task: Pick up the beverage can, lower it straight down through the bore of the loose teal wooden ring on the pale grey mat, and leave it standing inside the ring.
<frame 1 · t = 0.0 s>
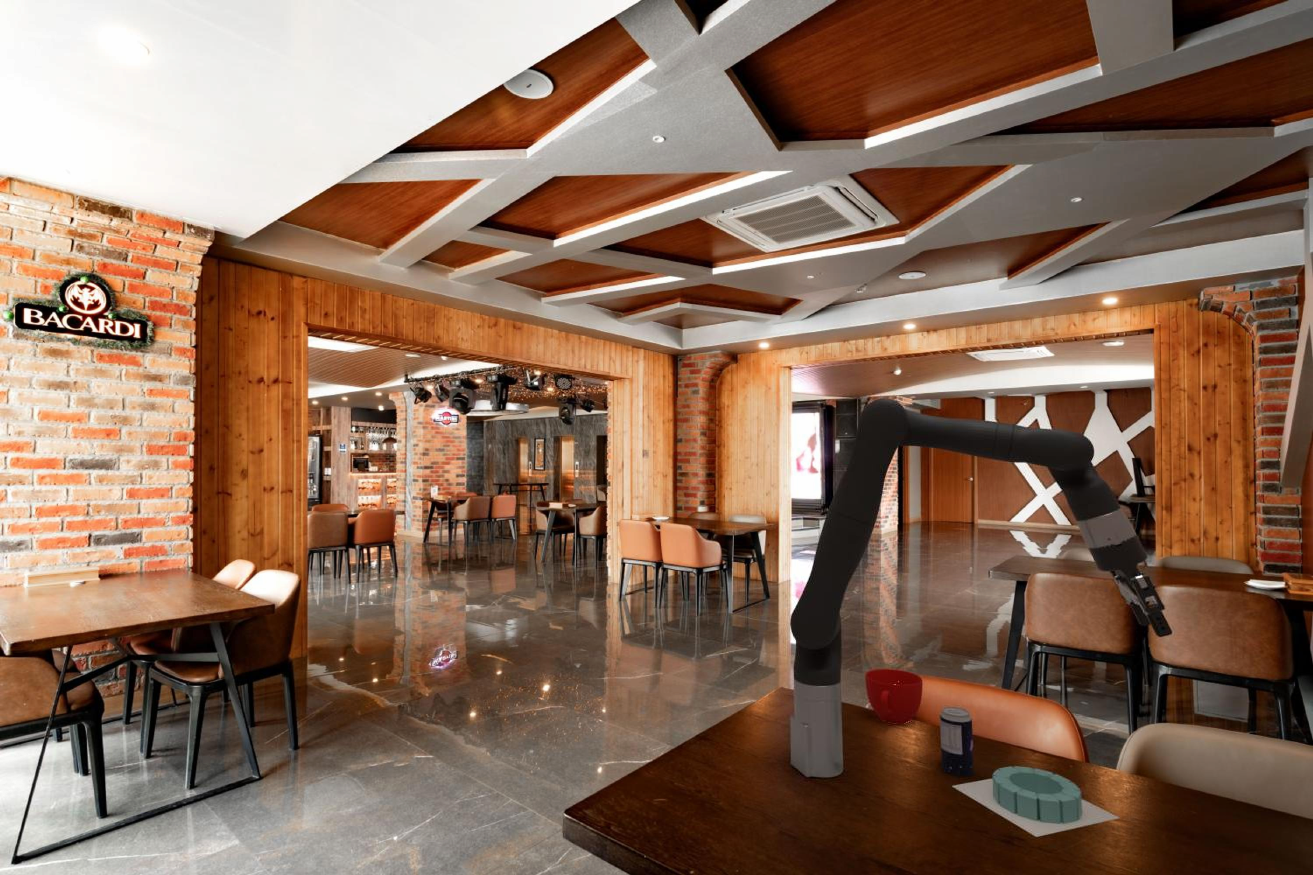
hand: (1156, 629, 110), 31 cm above the table, tool tilted 20°, fingers open, 8 cm apart
ceramic cup: (892, 722, 153), on the table
beverage can: (957, 775, 126), on the table
mat: (1031, 805, 113), on the table
ring: (1036, 803, 112), point 1 cm above the table, touching mat
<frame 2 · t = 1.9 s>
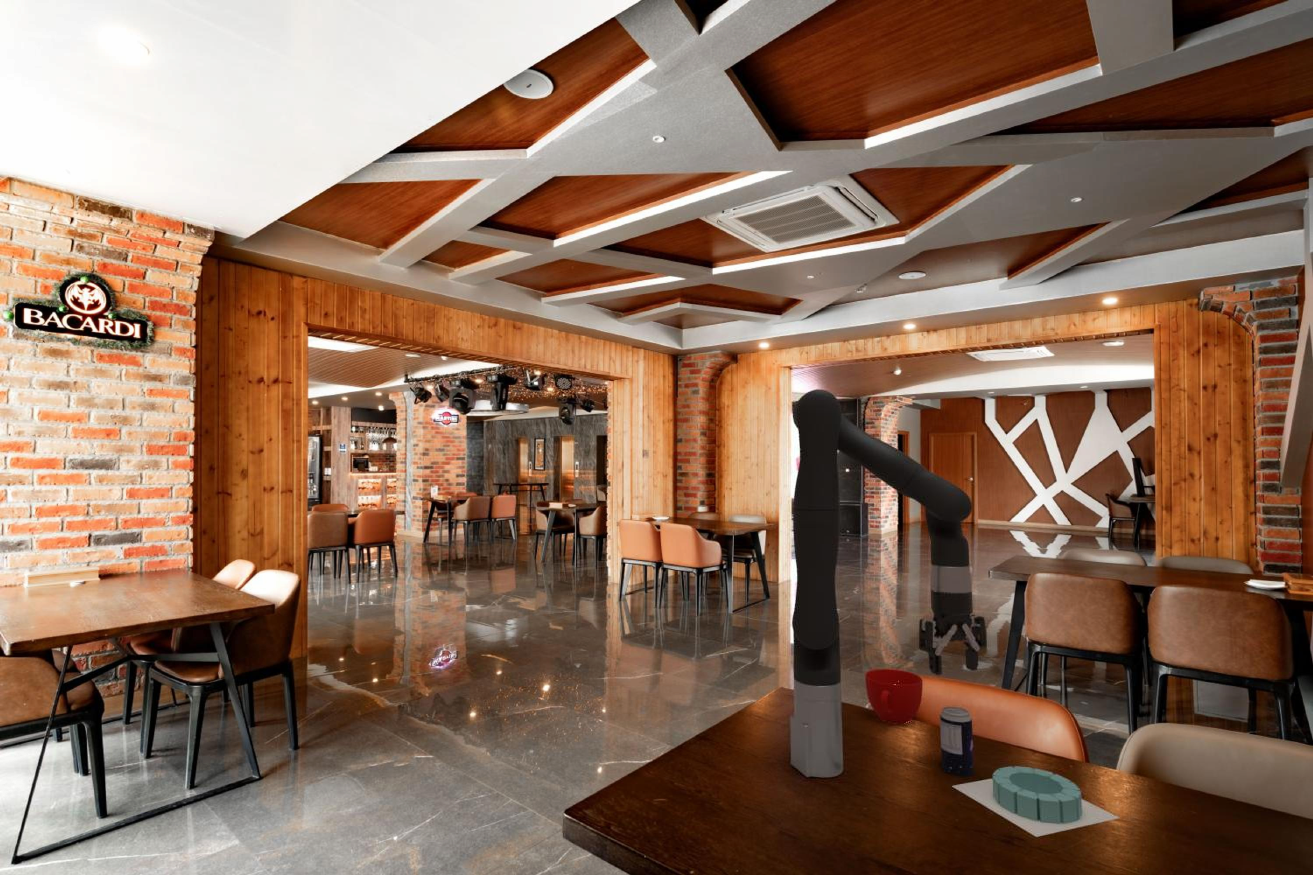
hand: (954, 671, 127), 19 cm above the table, tool pointing down, fingers open, 8 cm apart
nothing on the table moved.
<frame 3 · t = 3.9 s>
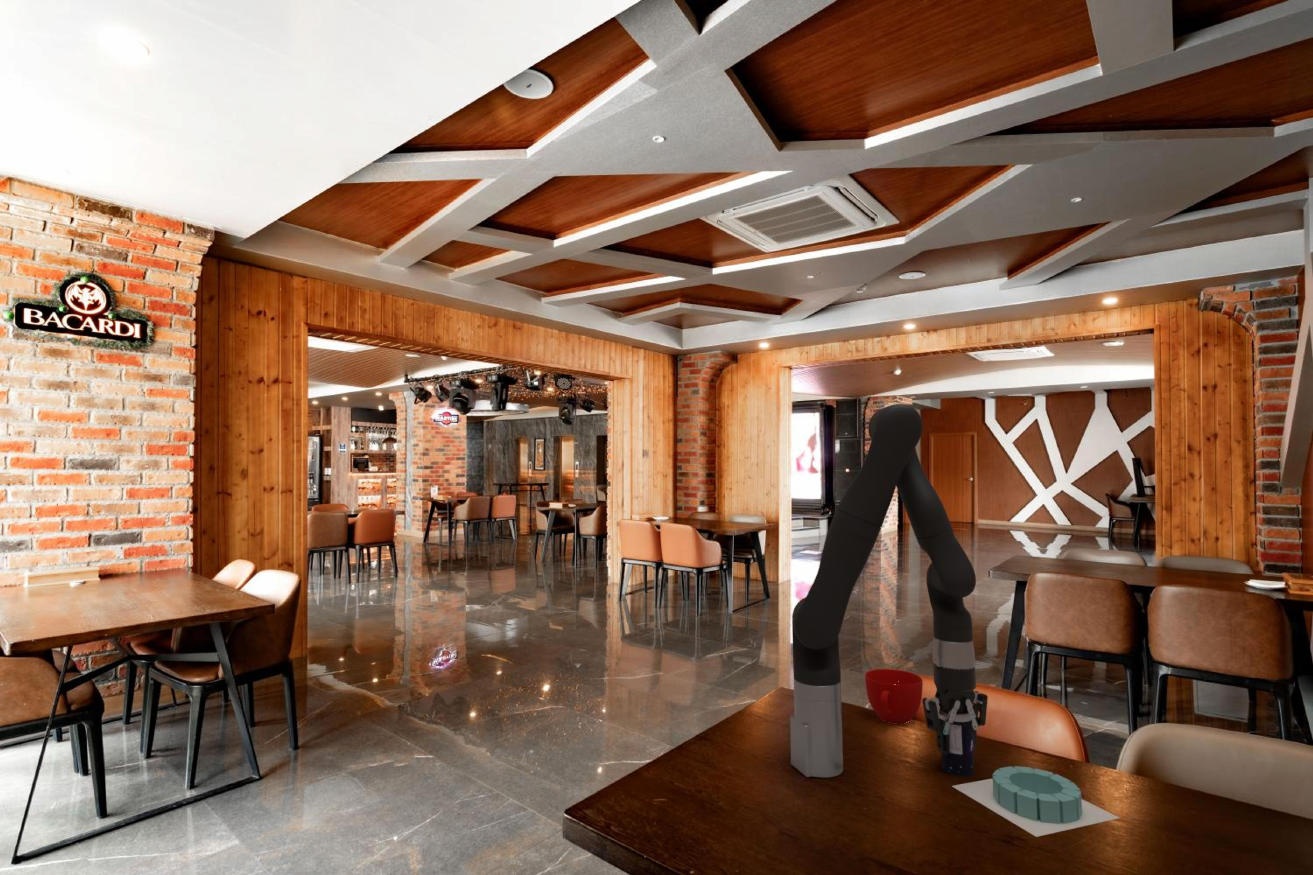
hand: (957, 749, 126), 5 cm above the table, tool pointing down, fingers closed on beverage can, 5 cm apart
beverage can: (958, 775, 126), on the table, touching gripper
everything else where it was.
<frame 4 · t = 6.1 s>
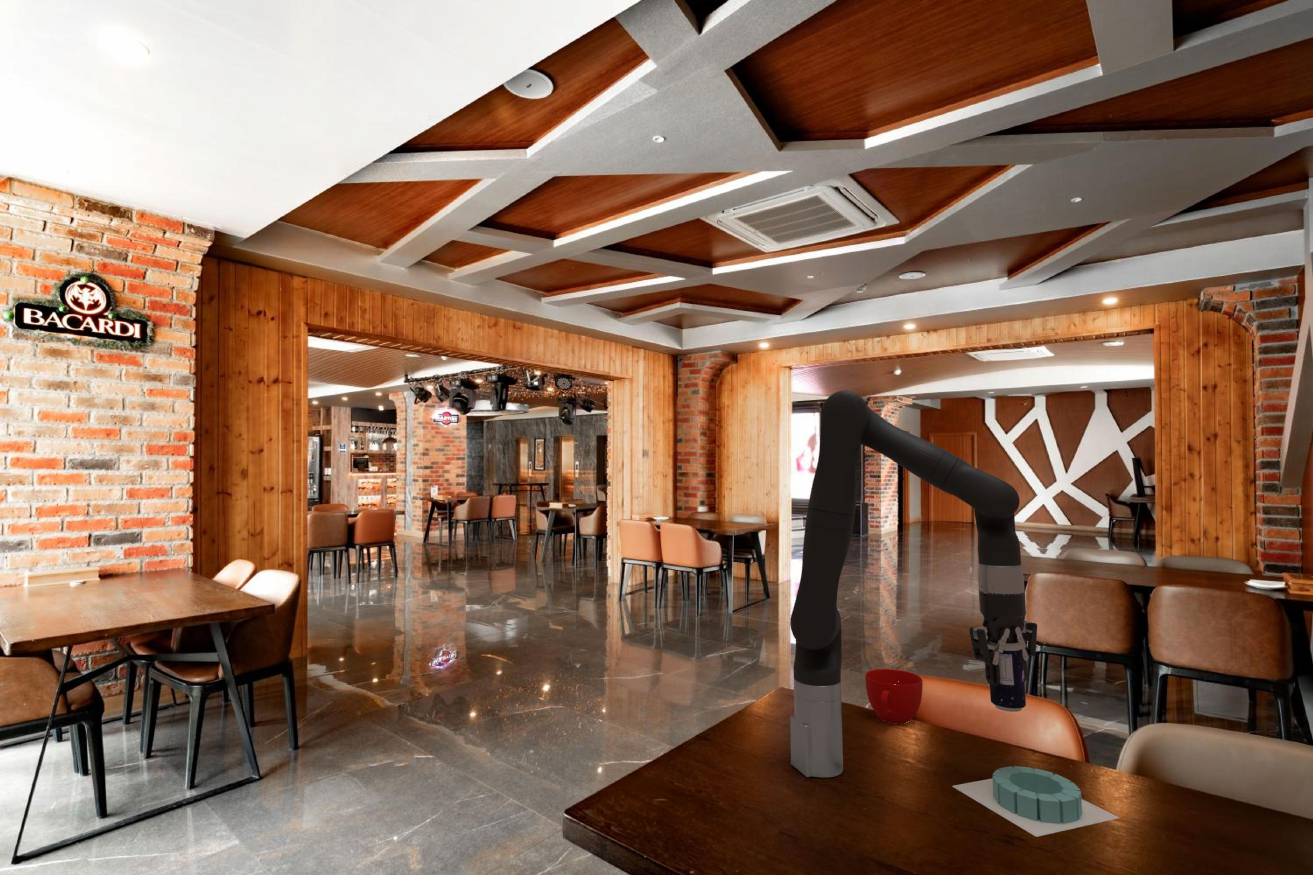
hand: (1006, 682, 118), 20 cm above the table, tool pointing down, fingers closed on beverage can, 5 cm apart
beverage can: (1008, 708, 118), point 15 cm above the table, touching gripper
everything else where it was.
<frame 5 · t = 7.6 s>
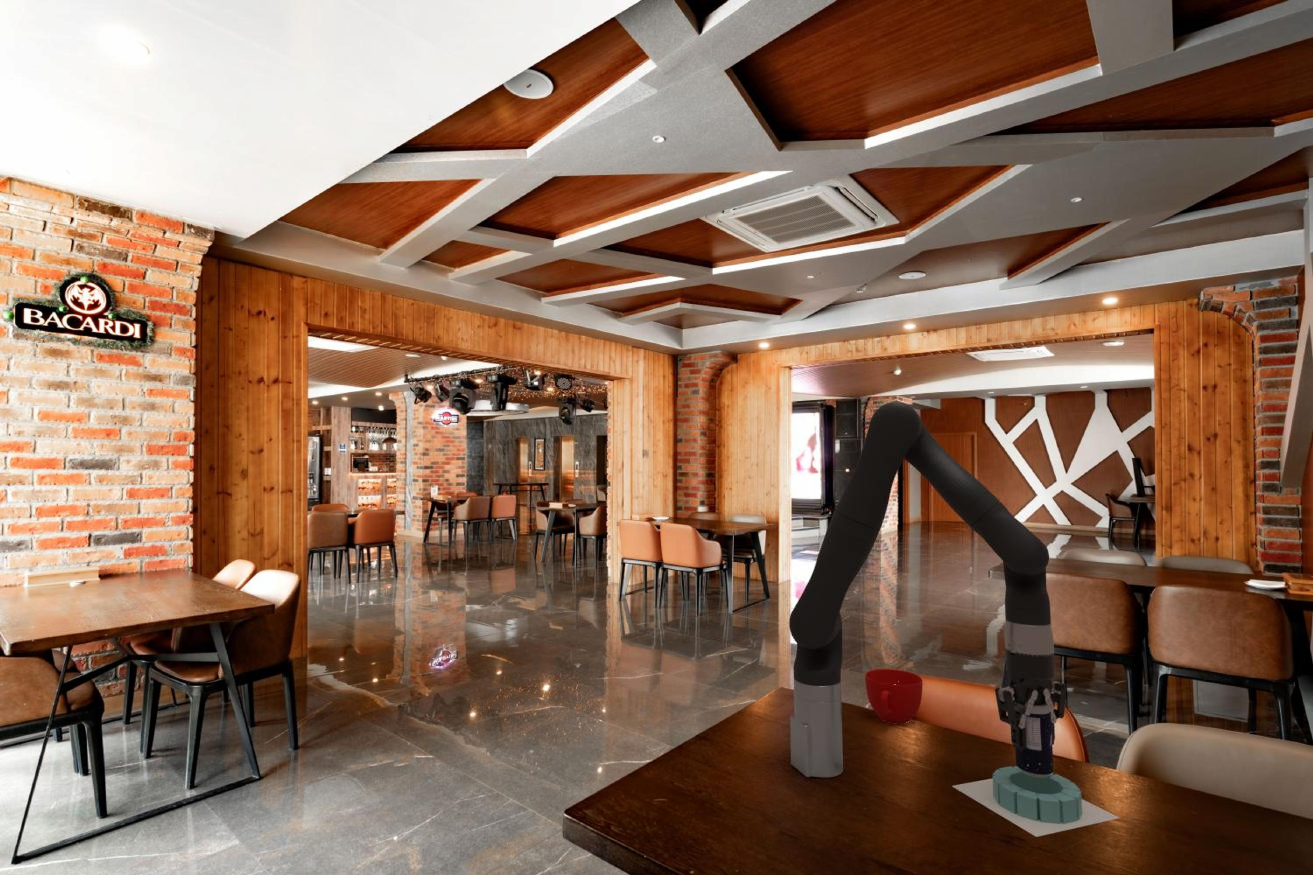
hand: (1033, 745, 113), 11 cm above the table, tool pointing down, fingers closed on beverage can, 5 cm apart
beverage can: (1034, 773, 113), point 6 cm above the table, touching gripper
everything else where it was.
when the fingers open (7 cm above the table, at t = 8.8 s): beverage can drops 2 cm, resting on mat.
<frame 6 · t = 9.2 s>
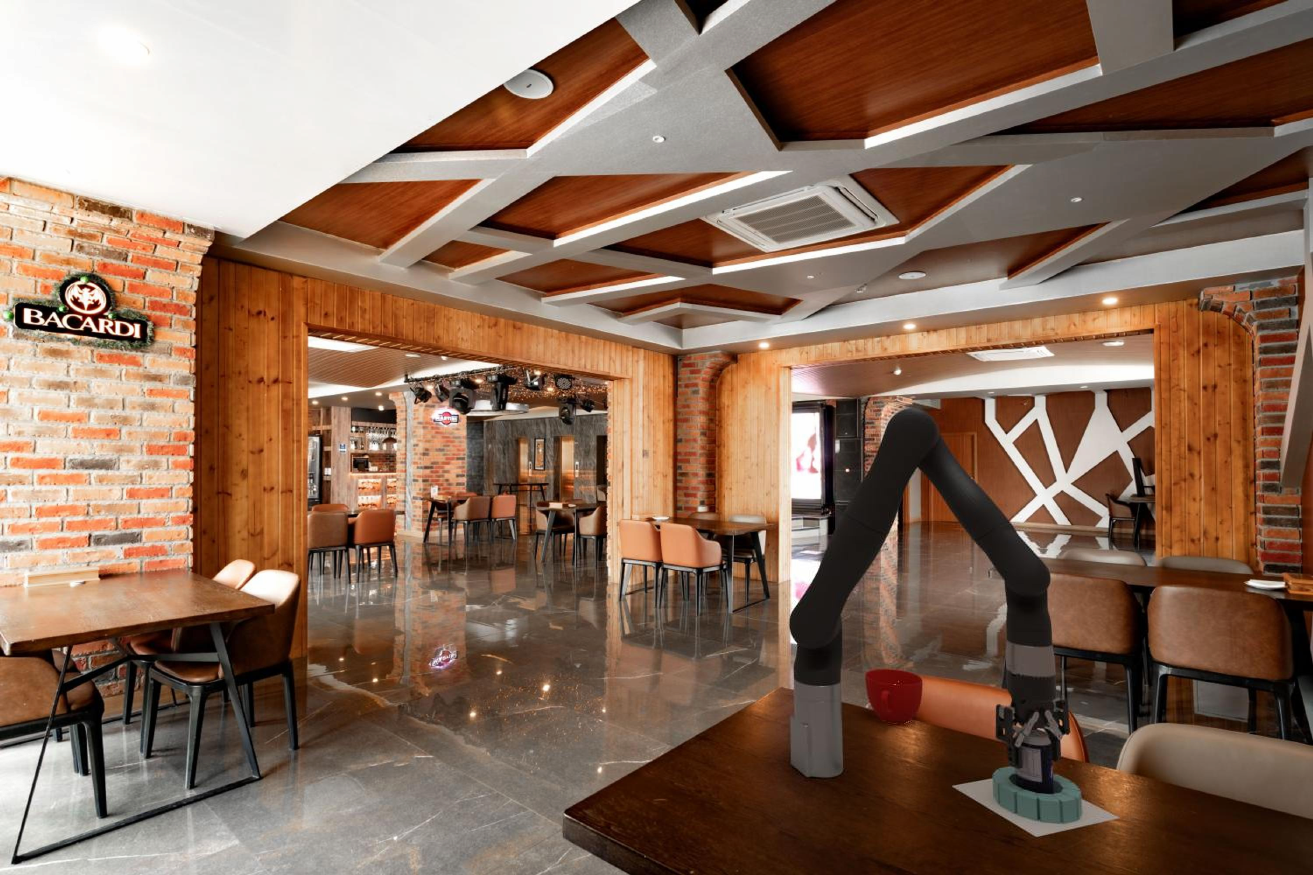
hand: (1034, 763, 113), 8 cm above the table, tool pointing down, fingers open, 8 cm apart
beverage can: (1035, 804, 112), point 1 cm above the table, touching mat
everything else where it was.
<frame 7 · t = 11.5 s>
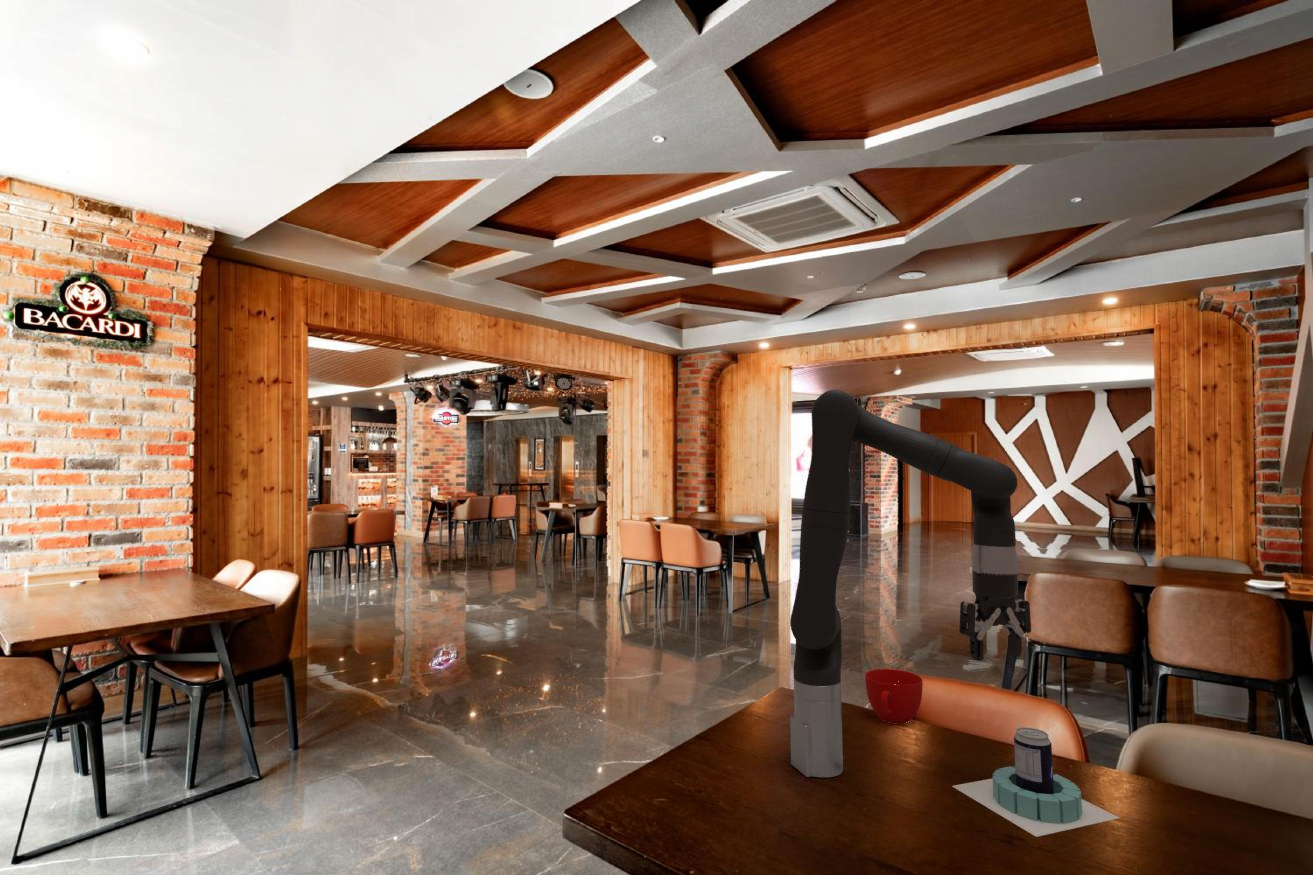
hand: (996, 657, 120), 24 cm above the table, tool pointing down, fingers open, 8 cm apart
nothing on the table moved.
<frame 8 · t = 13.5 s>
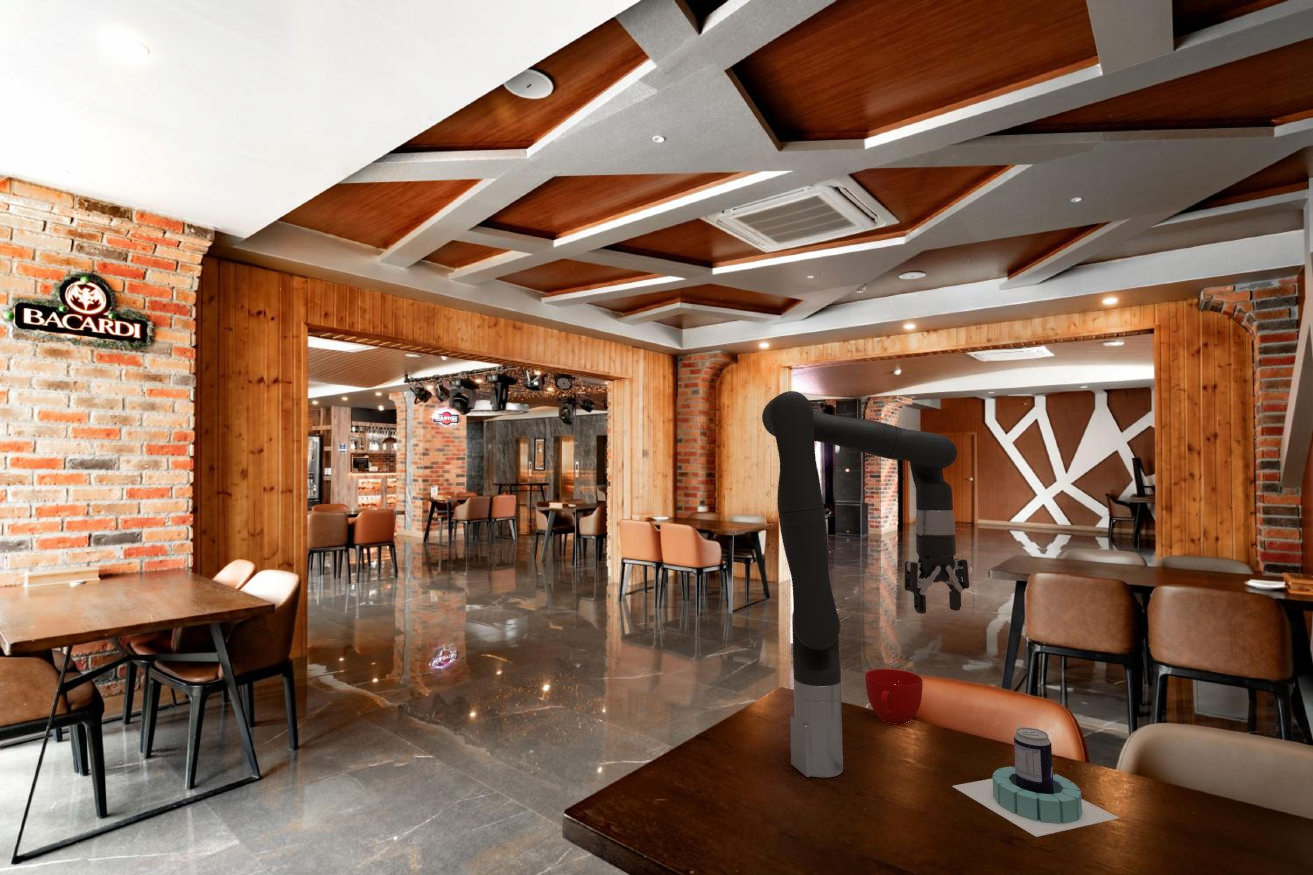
hand: (938, 611, 133), 30 cm above the table, tool pointing down, fingers open, 8 cm apart
nothing on the table moved.
at the end: beverage can 0.2 cm off-centre on the ring, point 0.0 cm above the ring's base; beverage can tilted 0°; the gripper is holding nothing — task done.
